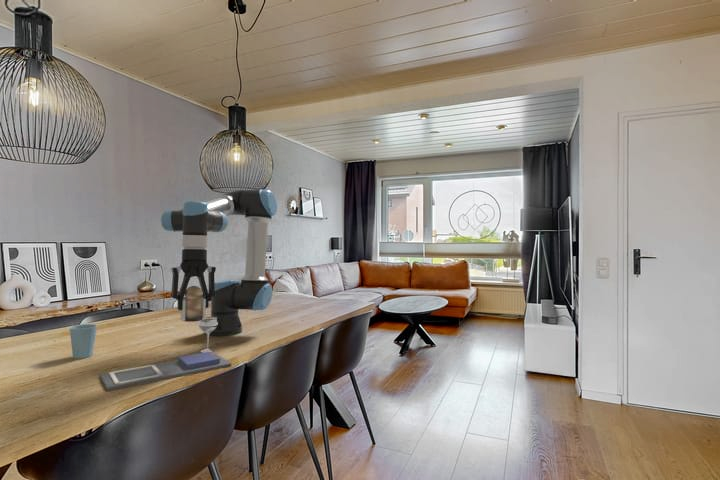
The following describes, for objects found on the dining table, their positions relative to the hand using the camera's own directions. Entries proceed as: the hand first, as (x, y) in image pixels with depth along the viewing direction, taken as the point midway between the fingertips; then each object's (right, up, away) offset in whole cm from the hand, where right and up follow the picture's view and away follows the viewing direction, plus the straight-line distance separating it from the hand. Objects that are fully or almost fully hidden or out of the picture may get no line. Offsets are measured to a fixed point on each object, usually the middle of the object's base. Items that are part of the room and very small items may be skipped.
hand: (193, 318), depth 124 cm
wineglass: (-2, -15, +16) cm, 22 cm away
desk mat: (-5, -15, -6) cm, 17 cm away
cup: (-41, -15, +7) cm, 44 cm away
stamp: (0, 0, 0) cm, 0 cm away
